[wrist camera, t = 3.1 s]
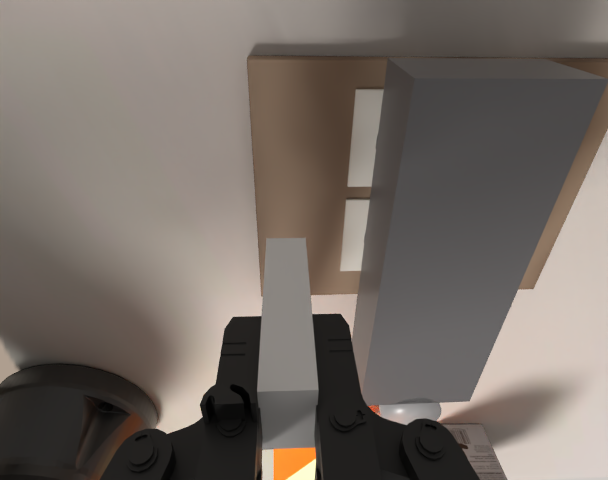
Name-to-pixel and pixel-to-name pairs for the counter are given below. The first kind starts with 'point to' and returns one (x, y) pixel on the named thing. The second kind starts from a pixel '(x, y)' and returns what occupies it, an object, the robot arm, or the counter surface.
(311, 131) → the label board
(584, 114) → the swing arm
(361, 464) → the robot arm
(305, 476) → the orange juice
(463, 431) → the coffee box
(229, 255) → the counter surface
